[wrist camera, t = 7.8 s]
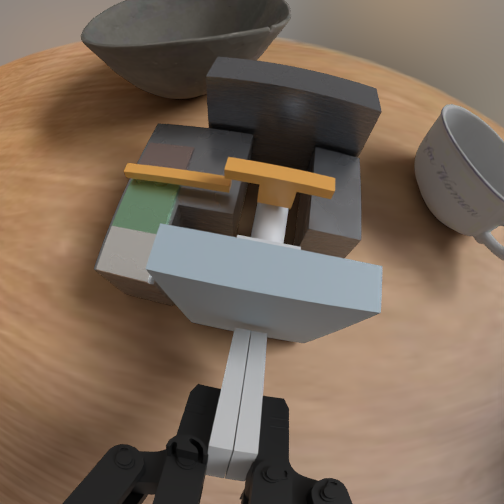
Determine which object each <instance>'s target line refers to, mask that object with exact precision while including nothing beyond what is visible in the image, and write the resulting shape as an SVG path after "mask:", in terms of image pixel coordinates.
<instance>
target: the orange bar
mask: <svg viewBox="0 0 504 504" xmlns="http://www.w3.org/2000/svg"><path fill="white" fill-rule="evenodd" d="M124 173H125V175H126V177H127V178H133V179H140V180H148V181H156V182H163V183H170V184H177V185H183V186H190V187H196V188H203V189H209V190H215V191H221V192H227V193H229V192H230V188H231V184H232V180H237V181H243V182H248V183H254V184H259V192H258V199H257V202H258V203H264V204H269V205H274V206H279V207H284V208H289V209H291V207H292V204H293V201H294V198H295V195H296V193H297V192H300V193H304V194H309V195H314V196H318V197H323V198H327V199H331V198H332V196H333V194H334V192H335V178H333V177H329V176H324V175H320V174H316V173H311V172H307V171H302V170H297V169H293V168H288V167H283V166H278V165H273V164H267V163H262V162H256V161H251V160H245V159H239V158H233V157H228V159H227V162H226V166H225V169H224V176H222V175H216V174H209V173H203V172H196V171H189V170H182V169H174V168H167V167H158V166H150V165H141V164H132V163H128V164H127V166H126V168H125V170H124Z"/></svg>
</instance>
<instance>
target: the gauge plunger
mask: <svg viewBox="0 0 504 504" xmlns="http://www.w3.org/2000/svg"><path fill="white" fill-rule="evenodd" d="M288 209H289V208H284V207H279V206H274V205H269V204H264V203H257V208H256V213H255V218H254V223H253V228H252V233H251V237H247V236H241V235H237V238H236V237H231V236H226V235H221V234H215V233H210V232H205V231H199V230H194V229H188V228H183V227H177V226H172V225H167V224H161V223H160V226H159V229H158V231H157V234H156V237H155V240H154V243H153V247H152V250H151V253H150V256H149V259H148V262H147V266H146V270H147V271H148V273H149V274H150V275H151V276H152V277H153V279H154V280H155V281H156V282H157V283H158V285H159V286H160V287H161V288H162V289H163V291H164V292H165V293H166V294H167V295H168V296H169V297H170V299H171V300H172V301H173V302H174V303H175V304H176V305H177V307H178V308H179V309H180V310H181V311H182V312H183V313H184V314H185V316H186V317H187V318H188V319H189V320H190V321H191V322H193V323H197V324H202V325H206V326H211V327H215V328H220V329H225V330H230V331H234V330H235V328H240V329H245V330H251V331H256V332H262V333H267V337H268V338H274V339H280V340H286V341H292V342H299V343H306V342H309V341H312V340H315V339H317V338H320V337H323V336H325V335H328V334H330V333H333V332H336V331H338V330H341V329H343V328H346V327H348V326H351V325H353V324H356V323H358V322H360V321H363V320H365V319H368V318H370V317H372V316H375V315H377V314H379V313H381V295H382V266H379V265H374V264H369V263H364V262H359V261H354V260H349V259H344V258H339V257H334V256H329V255H324V254H319V253H314V252H309V251H304V250H301V247H298V246H293V245H288V244H283V243H284V237H285V230H286V223H287V216H288ZM250 334H251V332H250Z"/></svg>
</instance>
